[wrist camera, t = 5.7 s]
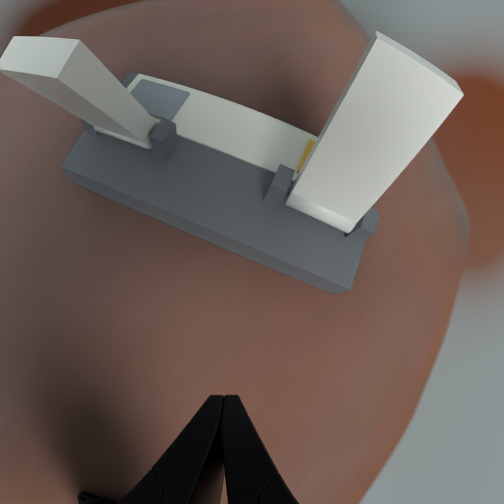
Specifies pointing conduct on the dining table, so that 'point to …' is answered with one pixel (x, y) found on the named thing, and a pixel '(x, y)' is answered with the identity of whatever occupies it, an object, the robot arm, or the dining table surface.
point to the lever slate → (78, 85)
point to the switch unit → (220, 181)
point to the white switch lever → (372, 133)
